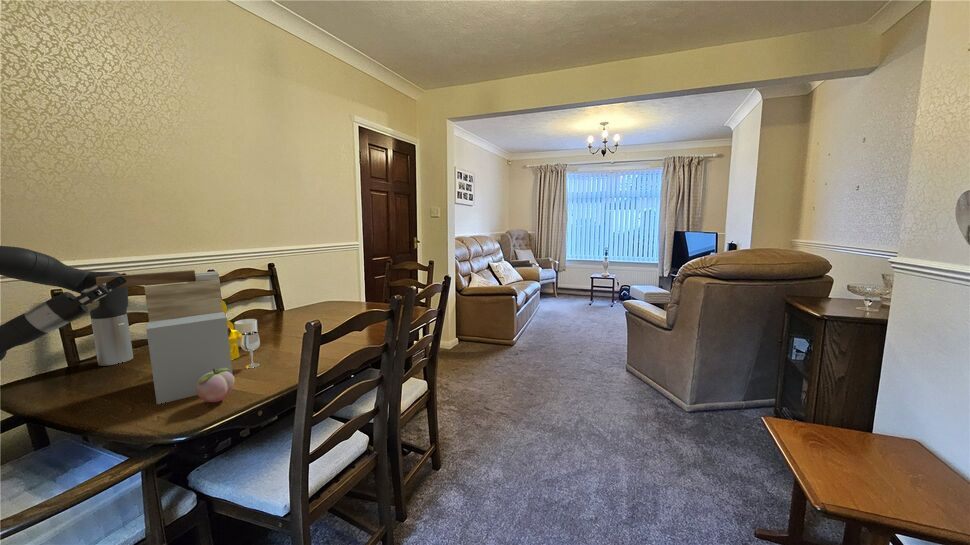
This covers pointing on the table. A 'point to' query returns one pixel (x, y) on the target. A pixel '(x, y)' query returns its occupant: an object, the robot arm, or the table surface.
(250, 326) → the white cup
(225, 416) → the table surface
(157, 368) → the grey block
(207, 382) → the decorative fruit
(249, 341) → the wineglass
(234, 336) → the figure statuette
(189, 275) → the brown block
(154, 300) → the oak stand
